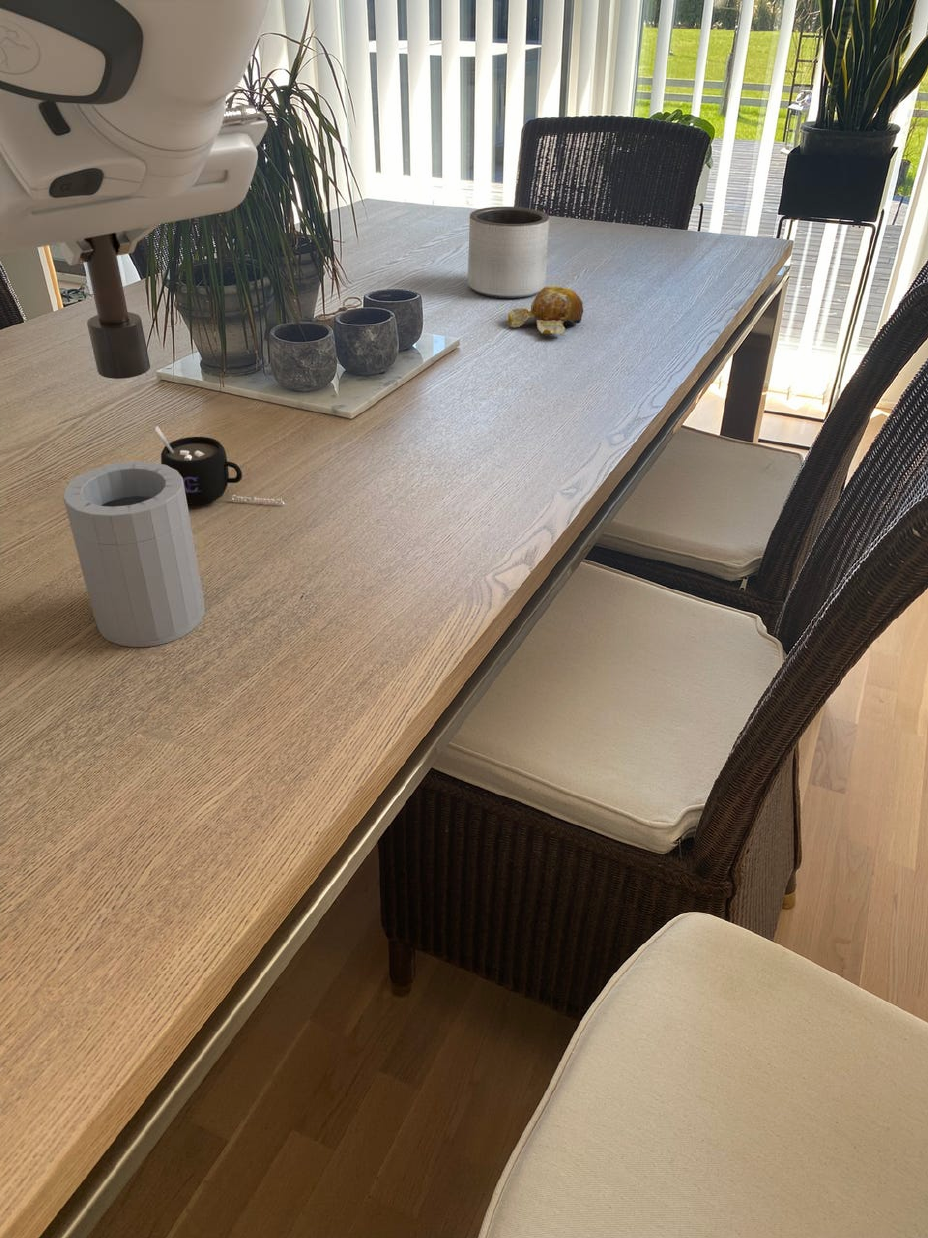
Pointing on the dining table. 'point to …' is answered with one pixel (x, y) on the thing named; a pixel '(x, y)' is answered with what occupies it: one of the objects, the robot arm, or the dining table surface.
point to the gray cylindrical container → (136, 552)
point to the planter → (507, 251)
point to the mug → (202, 468)
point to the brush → (113, 317)
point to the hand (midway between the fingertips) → (95, 251)
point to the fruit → (550, 310)
